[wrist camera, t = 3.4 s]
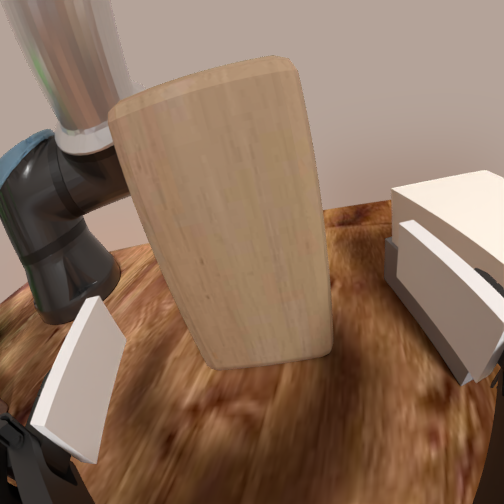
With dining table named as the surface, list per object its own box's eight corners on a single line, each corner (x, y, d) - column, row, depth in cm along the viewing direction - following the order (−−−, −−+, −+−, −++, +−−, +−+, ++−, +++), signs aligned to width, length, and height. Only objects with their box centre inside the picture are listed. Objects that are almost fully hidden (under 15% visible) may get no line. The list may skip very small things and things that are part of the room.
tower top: (391, 241, 24) (391, 188, 21) (482, 213, 24) (485, 170, 21) (486, 338, 12) (510, 269, 10) (567, 274, 12) (581, 221, 10)
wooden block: (220, 298, 30) (157, 101, 20) (316, 282, 29) (280, 70, 19) (207, 376, 21) (95, 108, 12) (336, 359, 20) (296, 48, 10)
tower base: (383, 282, 27) (384, 238, 24) (477, 249, 26) (482, 210, 24) (458, 389, 14) (481, 345, 12) (553, 319, 14) (571, 276, 12)
